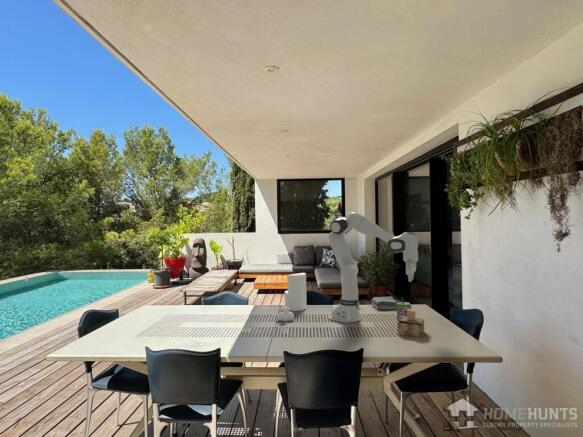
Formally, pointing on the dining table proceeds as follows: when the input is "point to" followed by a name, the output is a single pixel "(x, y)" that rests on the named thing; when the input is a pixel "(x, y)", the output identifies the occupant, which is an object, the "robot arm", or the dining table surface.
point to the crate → (410, 329)
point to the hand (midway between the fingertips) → (411, 280)
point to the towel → (384, 303)
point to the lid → (404, 319)
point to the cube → (410, 314)
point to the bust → (285, 314)
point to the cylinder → (296, 292)
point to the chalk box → (402, 308)
